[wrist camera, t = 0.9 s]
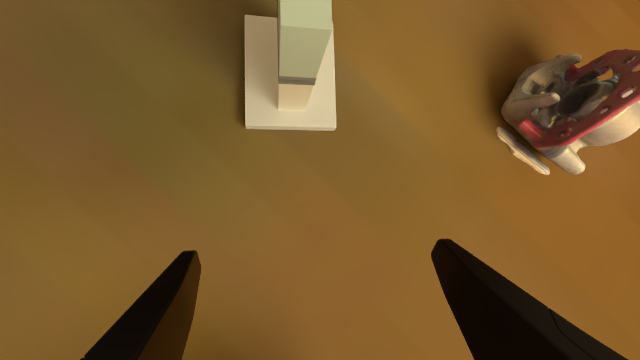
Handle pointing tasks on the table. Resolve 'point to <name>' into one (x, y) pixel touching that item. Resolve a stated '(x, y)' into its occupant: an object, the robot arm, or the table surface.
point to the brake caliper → (572, 108)
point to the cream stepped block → (284, 84)
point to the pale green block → (302, 37)
